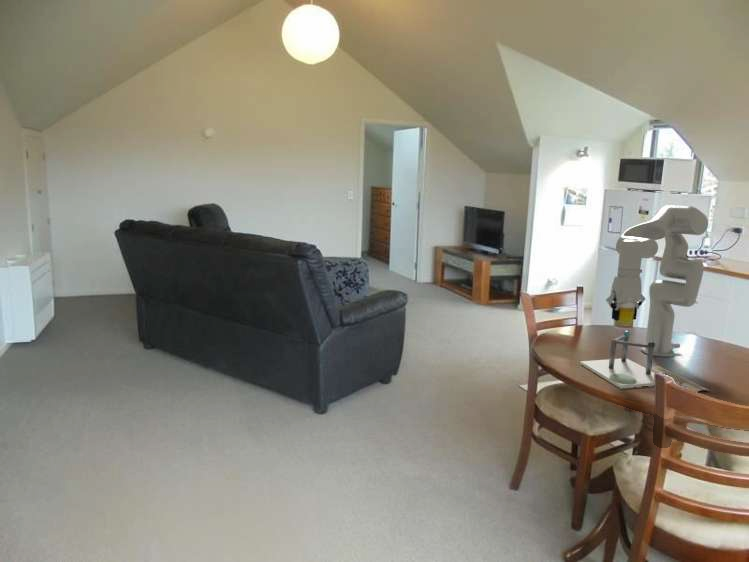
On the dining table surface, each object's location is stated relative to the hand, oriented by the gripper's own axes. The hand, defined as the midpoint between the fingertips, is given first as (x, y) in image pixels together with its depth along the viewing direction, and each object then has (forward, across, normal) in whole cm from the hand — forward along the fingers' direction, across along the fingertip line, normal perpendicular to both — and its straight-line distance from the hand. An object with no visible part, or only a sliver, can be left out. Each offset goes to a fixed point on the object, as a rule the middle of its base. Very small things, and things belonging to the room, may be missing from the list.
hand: (623, 318), depth 199 cm
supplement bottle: (+4, 0, 0) cm, 4 cm away
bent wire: (+20, -3, 0) cm, 20 cm away
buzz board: (+21, -1, +2) cm, 22 cm away
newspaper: (+22, -16, +11) cm, 30 cm away
